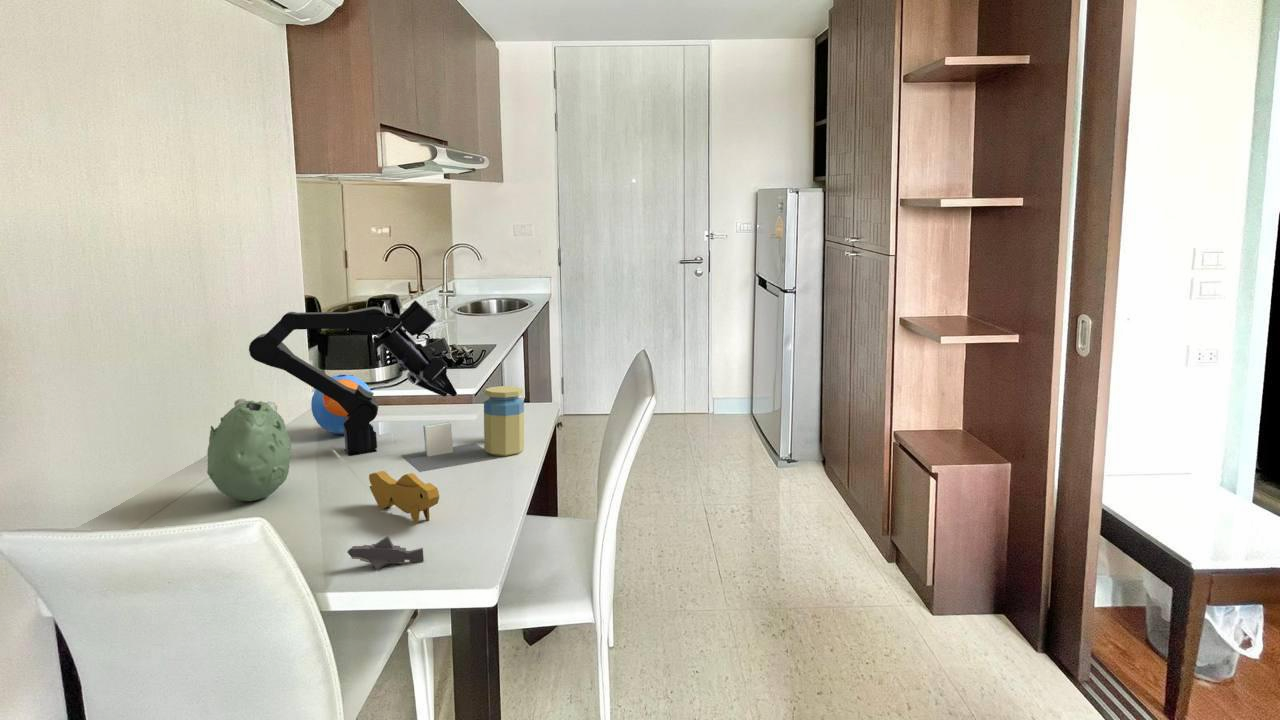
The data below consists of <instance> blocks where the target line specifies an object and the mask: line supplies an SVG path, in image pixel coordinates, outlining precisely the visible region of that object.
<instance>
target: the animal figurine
mask: <svg viewBox="0 0 1280 720" xmlns="http://www.w3.org/2000/svg"><path fill="white" fill-rule="evenodd" d="M347 554H348V555H349V556H350V558H351V559H352V560H359V561H360V562H366V563H370V564H371V565H372V567H373V568H374V569H375V570H376V571H379V570H380V569H382V568H384V567H385V566H388V564H395V565H396V564H405V561H408V562H410V563H411V562H412V563H424V561H425V559H424V558H425V557H424V548H423V547H420V548H417V549H412V550H407V547H401V545H394V544H393V541H392V539H391V538H390V535H387V536H385V537H384V538H382V539H381V540H379V541H378V542H376V543H371V544H370V545H368V544H363V545H352V546H351V548H350V549H348V550H347Z"/></svg>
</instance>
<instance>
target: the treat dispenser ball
mask: <svg viewBox="0 0 1280 720" xmlns="http://www.w3.org/2000/svg"><path fill="white" fill-rule="evenodd" d="M330 377H331V378H333V379H335V380H336V381H338V382H340V383H341V384H343V385H345V386H346V387H349V388H352V389H357V387H358V385H360V386H362V387H363V388H364V389H365V390H366V391H368V392H372V390H371V388H370V387H369V386H368V384H367V383H366V382H365V381H363V380H362V379H361V378H360V377H359V378H358V377H357V376H354V375H350V374H335V375H332V376H330ZM310 401H311V403H310V404H311V408H310V409H311V413H312V416H313V418H314V420H315V422H316V423H317V425H319V426H320V428H322V429H324V431H327V432H329V433H331V434H335V435H344V422H345V419H346V416H347V415H348V413H347V412H346V411H345V410H344V409H343V408H342V407H341V405H340V404H339V403H338V402H336V401H335V400H333V399H331V398H330V397H328V396H326V395H325V394H323V393H321V392H320V391H318V390H316V389H315V390H314V392H313V394H312V397H311V400H310Z"/></svg>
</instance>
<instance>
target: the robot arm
mask: <svg viewBox="0 0 1280 720" xmlns="http://www.w3.org/2000/svg"><path fill="white" fill-rule="evenodd" d="M436 321H437V319H436V318H435V316H434V315H433V314H432V313H431V312H430V311H429V310H428V309H427V308H425V307H424V306H423V305H422V304H420V303H419V302H418V301H417V300H416V299H415V300H413V301H412V302H411V303H410V305H409V306H408V307H407V308H406V309H405V310H404V311H403V312H402V313H401V314H398V313H396V312H395V313H391V312H387V311H386V310H384V308H382V307H380V306H370V307H369V306H368V307H365V308H360V309H355V310H351V311H334V312H333V311H330V312H329V311H328V312H326V311H322V312H316V311H315V312H311V311H310V312H296V311H288V312H287V313H285V314H284V315H282V317H281V319H279V321H278V322H277V323H276V324H274V326H273V327H272V328H271V329H270V330H269V331H268V332H267V333H262V334H260V335H258V336H256V337H255V338H254V339H252V341H251V342H250V343H249V346H248V352H249V356H250V357H251V358H252V359H253V360H254V361H256V362H258V363H261V364H264V365H266V366H269V367H272V368H275V369H278V370H282V371H285V372H287V373H289V374H290V375H291V376H293V377H295V378H297V380H298V379H299V380H300V381H302V382H303V383H305V384H306V385H308V386H310V387H311V388H313V389H315V390H318V391H320V392H321V393H323V394H325V395H326V396H328V397H330V398H331V399H333V400H335V401H336V402H338V403H339V404H340V405H341V407H342V408H343V409H344V410H345V411H346V412H347V413H348V415H347V416H346V419H345V422H344V434H343V435H344V446H345V448H344V449H343V451H344V452H345V453H346V454H347V455H348V456H349V457H354V456H359V455H360V456H361V455H364V454H365V455H366V454H371V453H377V452H378V450H377V449H378V441H377V440H378V439H377V432H376V431H375V430H374V426H373V425H372V424H371V422H372V421H373V420H375V419H376V417H377V415H378V412H379V402H378V399H377V398H376V397H375V396H374V392H372V391H371V392H368V391H366V390H365V389H364V388H363V387H362V386H360V385H358V387H357V389H352V388H349V387H346V386H345V385H343V384H341V383H340V382H338V381H336V380H335V379H333V378H331V377H332V376H330V375H328V374H326V373H325V372H323V371H321V370H319V369H318V367H315V366H313V365H311V364H310V363H308V362H307V361H305V360H304V359H302V358H300V357H298V356H297V355H296V354H294V353H293V352H292V350H291V349H289V347H288V346H287V345H286V344H285V343H284V342H283V341H284V340H286V339H287V337H288V336H290V334H291V333H292V332H293V331H295V330H345V329H346V330H353V331H356V332H359V333H368V334H380V333H381V332H383V331H384V332H383V333H382V334H380V335H379V336H373V344H374V345H373V349H374V350H377V349H379V347H380V346H382V345H383V347H384V348H385V349H386V350H387V351H388V352H389V353H391V355H392V356H393V357H395V359H396V360H397V363H398V364H400V365H403V367H404V368H405V369H406V370H408V372H407V373H406V377H407V380H408V381H409V382H410V383H411V384H414V385H415V386H417V387H419V388H423V389H425V390H427V391H429V392H432V393H434V394H437V395H440V396H442V397H444V398H445V397H447V396H448V395H449V396H452V397H456V396H457V394H458V391H456V389H455V388H454V386H453V384H452V382H451V380H450V379H449V376H448V375H447V372H448V371H447V370H448V365H447V364H448V362H446V361H445V360H444V359H443V357H435V356H437V355H439V354H441V353H444V352H448V351H450V350H451V348H450V346H449V344H448V341H447V340H446V338H445V337H441V338H439V339H437V340H436V339H435V338H434V337H432V338H429V339H427V340H425V345H422V344H421V343H416V342H415V341H414V340H413V339H412V338H411V337H413V336H415V335H417V336H418V337H420V336H421V335H422V334H423V333H425V332H426V330H427V329H429V328H431V327H430V326H432V325H433V324H435V322H436ZM398 323H399V324H398ZM397 324H398V325H397ZM395 326H396V327H395ZM392 327H395V328H393V329H392V330H390V328H392ZM401 327H402V328H403V329H404V330H405V331H406V332H407V333H408V334H409V335H410V336H411V337H410V336H409V335H408V334H407V333H406V332H405V331H404V330H403V329H402V328H401ZM386 328H387V329H386ZM385 329H386V330H385Z"/></svg>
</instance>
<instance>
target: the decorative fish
mask: <svg viewBox="0 0 1280 720" xmlns="http://www.w3.org/2000/svg"><path fill="white" fill-rule="evenodd" d="M368 481H369V483H370V485H369V489H370V492H371V493H372V496H373V497H374V499H375V502H376V504H377V505H378V507H379V509H381V508H382V509H381V510H384V509H387V507H388V508H390V507H393V506H395V507H396V508H397V509H399V510H401V511H402V512H403V513H405V514H410V517H411V519H412V522H413V523H414V524H415V525H416V524H417V525H418V524H419V522H420V512H422V513H423V516H424V518H425V520H426V521H427V522H429V521H430V508H433V507H434V506H436V505H437V504H438V503H439V500H440V493H439V489H438V487H437V486H436V485H434V484H433V483H431V482H428V483H425V482H424V481H422V480H421V479H420V478H419V477H418V476H417V475H416V474H415V473H413V472H411V473H406V474H403V475H402V476H401V477H400V478H399V479H398V480H396V479H395V478H393V477H392V476H390V475H389V474H388V473H387V471H386V470H380V471H377V472H373V473H370V474H369V475H368Z"/></svg>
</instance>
